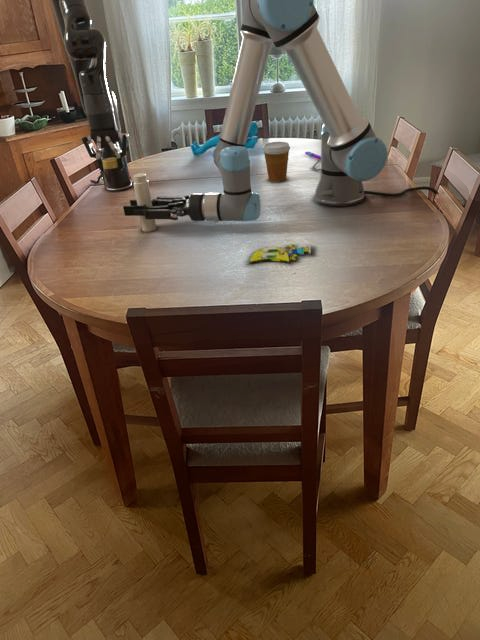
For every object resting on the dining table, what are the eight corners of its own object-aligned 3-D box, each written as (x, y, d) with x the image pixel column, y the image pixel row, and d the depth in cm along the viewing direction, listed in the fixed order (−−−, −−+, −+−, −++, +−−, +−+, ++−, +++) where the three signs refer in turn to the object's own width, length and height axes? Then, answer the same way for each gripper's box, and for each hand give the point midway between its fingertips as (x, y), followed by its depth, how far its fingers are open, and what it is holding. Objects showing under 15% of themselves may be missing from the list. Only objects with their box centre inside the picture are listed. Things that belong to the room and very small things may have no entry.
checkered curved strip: (342, 175, 173) (362, 153, 185) (341, 169, 172) (361, 148, 184) (283, 174, 186) (305, 153, 198) (282, 169, 184) (305, 148, 196)
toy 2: (311, 260, 114) (248, 260, 116) (311, 263, 115) (248, 263, 117) (311, 242, 123) (252, 243, 125) (311, 245, 123) (253, 246, 125)
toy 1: (196, 135, 216) (258, 115, 205) (204, 158, 221) (266, 140, 210) (185, 145, 202) (251, 124, 192) (194, 169, 207) (259, 150, 197)
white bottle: (151, 232, 139) (141, 177, 131) (139, 230, 141) (128, 176, 132) (159, 227, 143) (149, 173, 134) (147, 225, 144) (137, 172, 135)
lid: (110, 164, 148) (108, 157, 147) (123, 164, 146) (121, 157, 145) (100, 168, 144) (98, 161, 143) (113, 169, 142) (111, 162, 141)
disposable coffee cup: (260, 182, 170) (258, 147, 164) (269, 174, 177) (267, 141, 171) (286, 183, 167) (285, 148, 160) (294, 175, 174) (293, 141, 168)
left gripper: (70, 114, 134) (85, 175, 143) (120, 111, 133) (132, 172, 142) (80, 110, 141) (94, 168, 150) (127, 106, 139) (138, 166, 148)
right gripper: (198, 232, 129) (118, 231, 134) (214, 209, 144) (141, 209, 148) (194, 205, 125) (112, 205, 130) (211, 184, 140) (136, 185, 144)
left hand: (112, 170), depth 146 cm, fingers closed on lid, 5 cm apart
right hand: (128, 207), depth 139 cm, fingers closed on white bottle, 4 cm apart
